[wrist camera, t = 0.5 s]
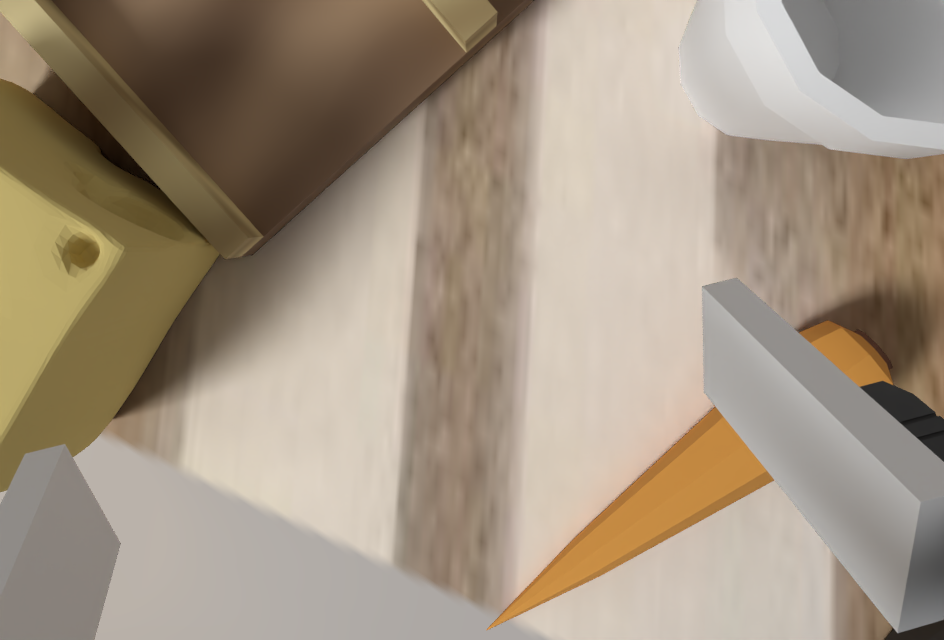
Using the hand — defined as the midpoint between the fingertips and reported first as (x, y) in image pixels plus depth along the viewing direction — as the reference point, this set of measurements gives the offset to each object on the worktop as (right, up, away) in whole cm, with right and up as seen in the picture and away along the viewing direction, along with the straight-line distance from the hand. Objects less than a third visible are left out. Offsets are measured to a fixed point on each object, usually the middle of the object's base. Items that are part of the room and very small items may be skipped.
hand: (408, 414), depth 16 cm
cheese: (-15, +4, +16) cm, 23 cm away
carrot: (+9, -5, +17) cm, 20 cm away
